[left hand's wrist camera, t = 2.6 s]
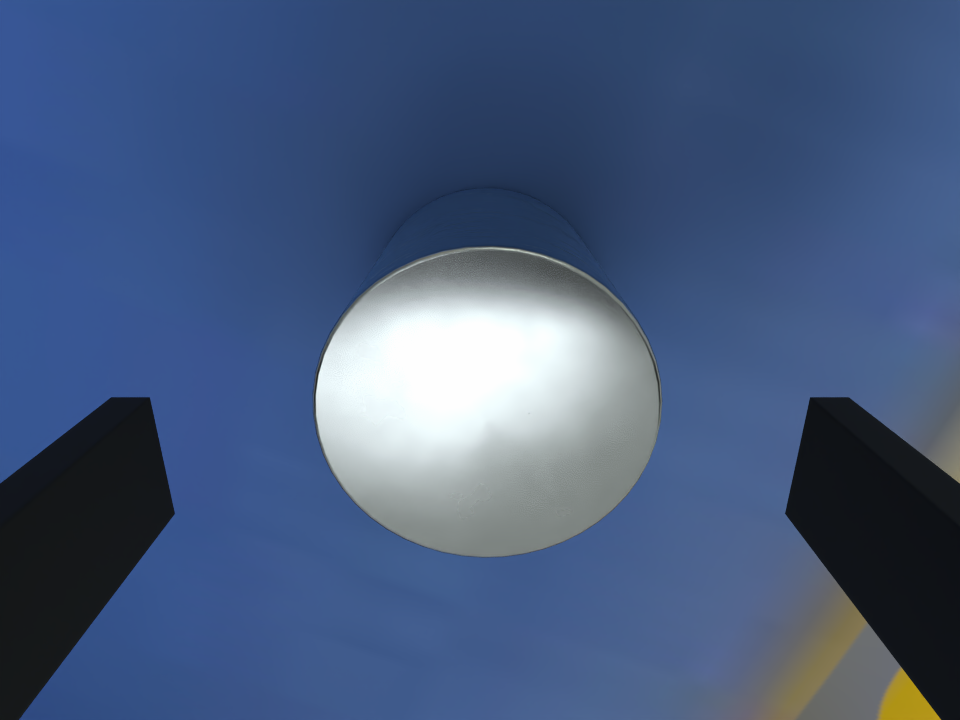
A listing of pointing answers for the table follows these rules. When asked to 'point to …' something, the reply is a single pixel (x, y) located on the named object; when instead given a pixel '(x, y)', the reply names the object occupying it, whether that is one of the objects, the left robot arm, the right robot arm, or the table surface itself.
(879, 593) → the left robot arm
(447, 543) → the can
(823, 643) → the table surface
